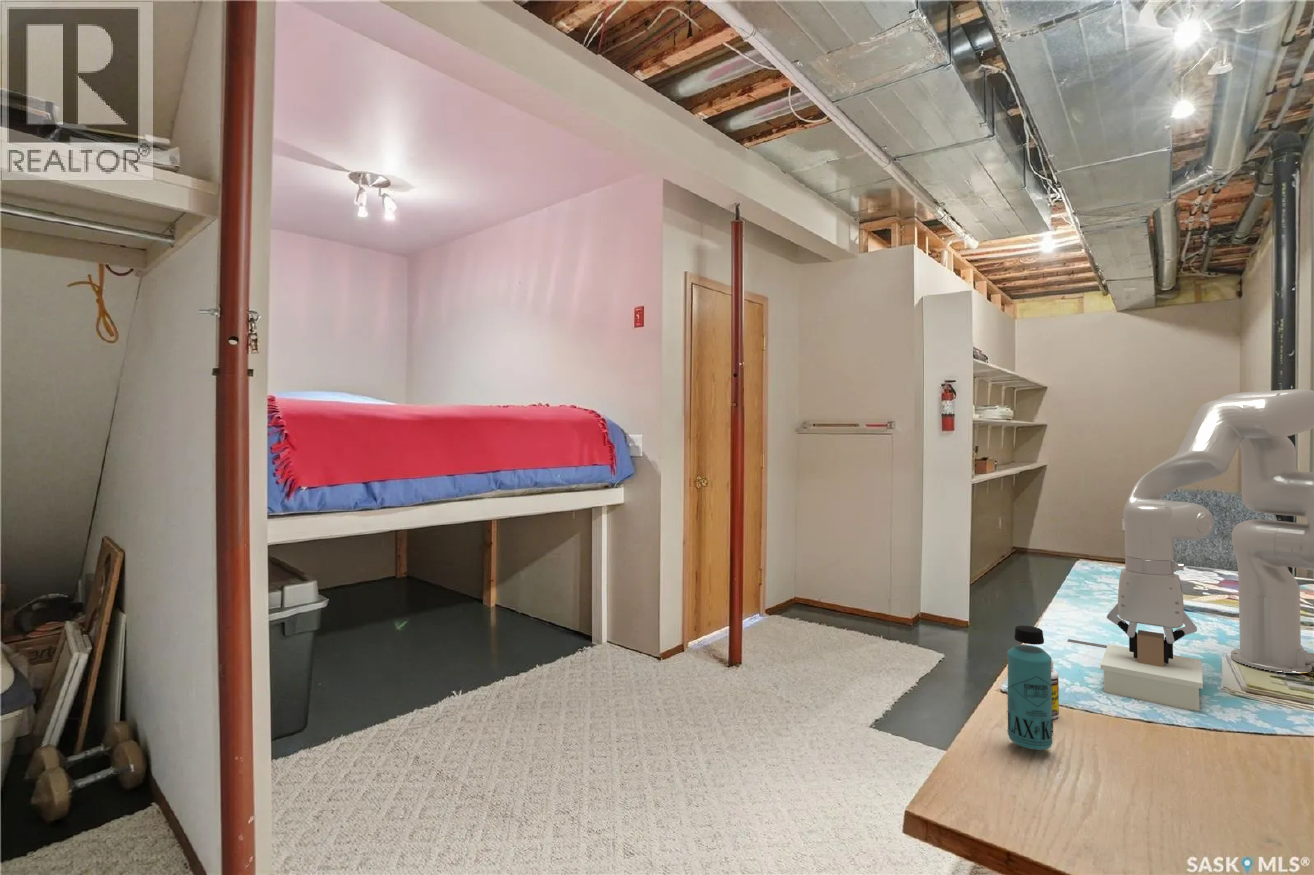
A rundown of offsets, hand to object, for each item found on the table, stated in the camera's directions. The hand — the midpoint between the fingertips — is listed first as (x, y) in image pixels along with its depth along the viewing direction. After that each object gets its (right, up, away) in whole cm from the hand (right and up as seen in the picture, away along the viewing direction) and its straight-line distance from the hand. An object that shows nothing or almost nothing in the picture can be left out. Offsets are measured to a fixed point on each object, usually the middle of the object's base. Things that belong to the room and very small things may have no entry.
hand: (1151, 658), depth 121 cm
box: (0, -7, 0) cm, 7 cm away
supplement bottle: (-27, -7, -8) cm, 29 cm away
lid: (0, -2, 0) cm, 2 cm away
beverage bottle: (-37, -8, -21) cm, 43 cm away
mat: (+5, -7, +20) cm, 21 cm away
